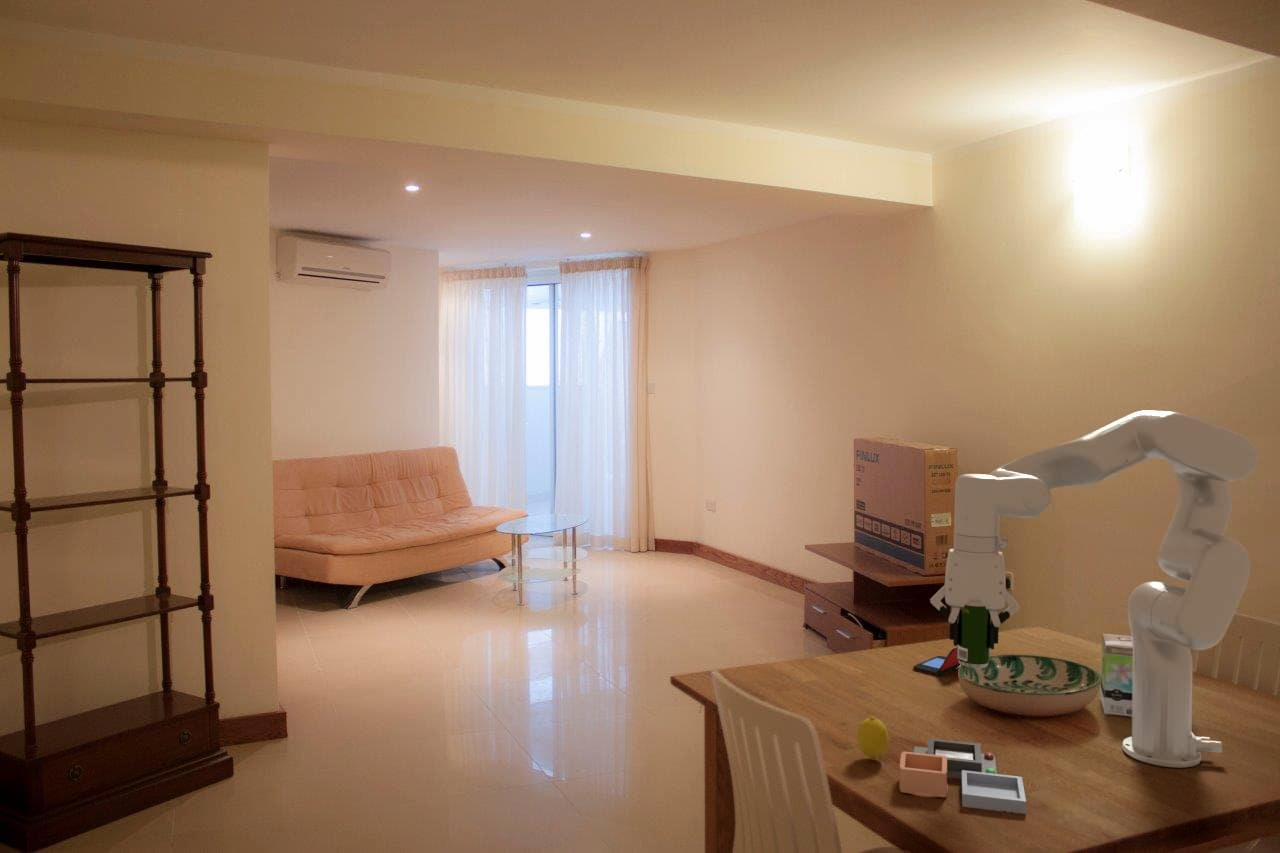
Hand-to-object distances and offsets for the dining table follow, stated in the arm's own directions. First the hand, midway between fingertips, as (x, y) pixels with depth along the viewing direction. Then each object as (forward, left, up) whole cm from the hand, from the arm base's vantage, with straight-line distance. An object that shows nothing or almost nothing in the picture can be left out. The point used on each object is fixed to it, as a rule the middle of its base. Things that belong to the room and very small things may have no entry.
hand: (973, 644), depth 165 cm
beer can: (0, 0, -4) cm, 4 cm away
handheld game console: (+5, -57, -23) cm, 62 cm away
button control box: (+3, +1, -22) cm, 23 cm away
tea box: (-34, -38, -23) cm, 56 cm away
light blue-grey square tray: (-3, +12, -22) cm, 25 cm away
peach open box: (+8, +11, -22) cm, 26 cm away
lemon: (+17, +1, -22) cm, 28 cm away
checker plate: (+3, +1, -21) cm, 21 cm away
